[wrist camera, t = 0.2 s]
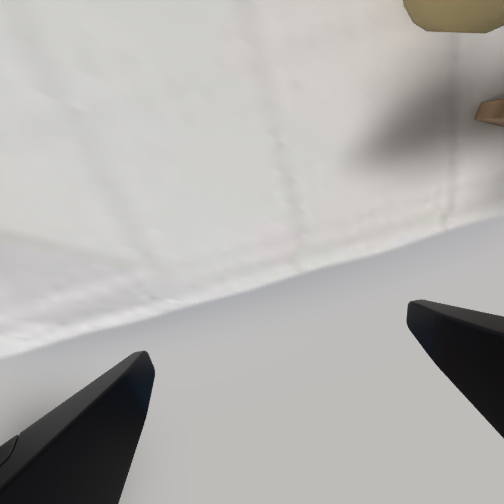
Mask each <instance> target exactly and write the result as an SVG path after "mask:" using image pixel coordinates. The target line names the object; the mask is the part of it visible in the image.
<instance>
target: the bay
mask: <svg viewBox="0 0 504 504" xmlns="http://www.w3.org/2000/svg"><path fill="white" fill-rule="evenodd" d="M474 120H477V121H482V122H486V123H490V124H495V125H499V126H504V99H500V100H493V101H486V102H482V103H481V105H480V108H479V110H478V112H477V114H476V117H475V119H474Z"/></svg>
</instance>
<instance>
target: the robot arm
mask: <svg viewBox="0 0 504 504" xmlns="http://www.w3.org/2000/svg"><path fill="white" fill-rule="evenodd" d="M407 325H408V328H409V329H410V331H411V332H412V334H413V335H414V336H415V338H416V339H417V340H418V342H419V343H420V344H421V346H422V347H423V348H424V350H425V351H426V352H427V354H428V355H429V356H430V358H431V359H432V360H433V361H434V363H435V364H436V365H437V366H438V367H439V368H440V370H441V371H442V372H443V373H444V374H445V375H446V376H447V377H448V378H449V379H450V380H451V382H452V383H453V384H454V385H455V386H456V387H457V388H458V389H459V390H460V391H461V392H462V393H463V395H464V396H465V397H466V398H467V399H468V400H469V401H470V402H471V403H472V404H473V405H474V407H475V408H476V409H477V410H478V411H479V412H480V413H481V414H482V415H483V416H484V417H485V419H486V420H487V421H488V422H489V423H490V424H491V425H492V426H493V427H494V428H495V429H496V431H497V432H498V433H499V434H500V435H501V436H502V437H503V438H504V317H503V316H498V315H493V314H489V313H483V312H479V311H474V310H469V309H465V308H460V307H455V306H450V305H446V304H441V303H436V302H431V301H427V300H415V301H410V302H409V304H408V310H407ZM154 377H155V369H154V366H153V364H152V361H151V359H150V357H149V354H148V353H147V352H146V351H139V352H135V353H133V354H131V355H130V356H128V357H127V358H125V359H124V360H123V361H121V362H120V363H118V364H117V365H116V366H114V367H113V368H112V369H110V370H109V371H107V372H106V373H104V374H103V375H101V376H100V377H99V378H97V379H96V380H94V381H93V382H91V383H90V384H89V385H87V386H86V387H85V388H83V389H82V390H80V391H79V392H77V393H76V394H74V395H73V396H72V397H70V398H69V399H67V400H66V401H65V402H63V403H62V404H60V405H59V406H58V407H56V408H55V409H53V410H52V411H50V412H49V413H48V414H46V415H45V416H44V417H42V418H41V419H39V420H38V421H36V422H35V423H34V424H32V425H31V426H29V427H28V428H26V429H25V430H24V431H22V432H21V433H20V434H19V435H16V436H14V437H13V438H11V439H10V440H9V441H7V442H6V443H4V444H3V445H2V446H0V504H118V503H119V499H120V497H121V494H122V491H123V487H124V484H125V481H126V478H127V475H128V472H129V469H130V466H131V463H132V459H133V457H134V453H135V450H136V447H137V444H138V441H139V438H140V435H141V432H142V429H143V425H144V422H145V419H146V415H147V411H148V406H149V401H150V397H151V392H152V387H153V382H154Z"/></svg>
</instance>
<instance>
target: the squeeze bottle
mask: <svg viewBox="0 0 504 504" xmlns="http://www.w3.org/2000/svg"><path fill="white" fill-rule="evenodd" d="M403 2H404V7H405V9H406V10H407V12H408V14H409V16H410V18H411V19H412V21H413V23H415V24H416V25H418V26H419V27H421V28H423V29H424V30H426V31H433V32H462V33H487V32H490V31H492V30H494V29H496V28H499V27H501V26H503V25H504V0H403Z"/></svg>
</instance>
